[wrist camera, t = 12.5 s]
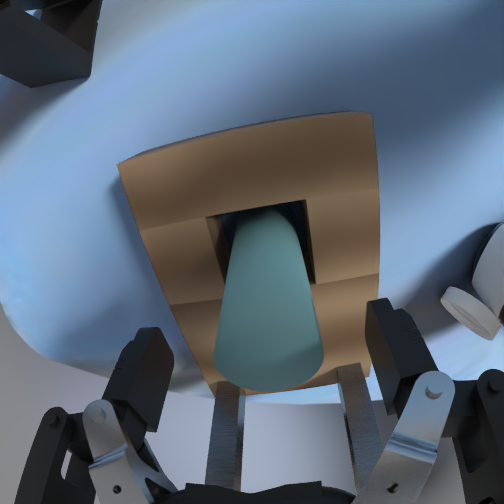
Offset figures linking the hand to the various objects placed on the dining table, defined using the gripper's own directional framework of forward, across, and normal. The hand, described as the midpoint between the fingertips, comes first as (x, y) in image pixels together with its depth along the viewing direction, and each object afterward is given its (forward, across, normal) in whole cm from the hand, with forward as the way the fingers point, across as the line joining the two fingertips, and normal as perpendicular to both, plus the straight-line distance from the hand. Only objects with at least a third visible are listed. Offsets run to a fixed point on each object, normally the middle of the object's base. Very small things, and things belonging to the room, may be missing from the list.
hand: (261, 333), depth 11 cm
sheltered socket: (+11, 0, +5) cm, 12 cm away
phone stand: (+11, +11, -18) cm, 24 cm away
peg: (+11, 0, +1) cm, 11 cm away
